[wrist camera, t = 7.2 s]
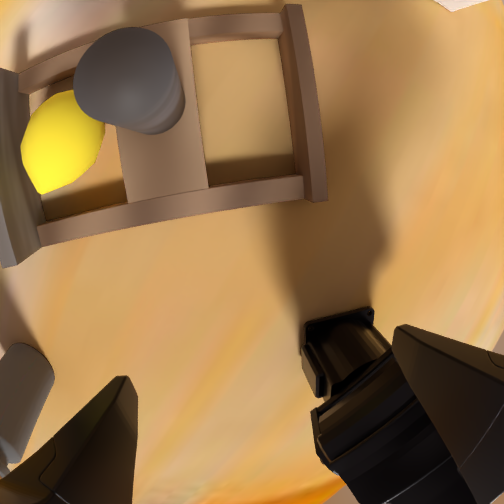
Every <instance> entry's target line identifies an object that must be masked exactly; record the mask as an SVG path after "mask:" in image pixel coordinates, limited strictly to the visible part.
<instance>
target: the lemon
mask: <svg viewBox="0 0 504 504" xmlns="http://www.w3.org/2000/svg"><path fill="white" fill-rule="evenodd" d="M104 134H105V125H104V122H101V121H98V120H95V119H93V118H91V117H89V116H88V115H87V114H85V113H84V112H83V111H82V110H81V108H80V107H79V105H78V104H77V102H76V99H75V96H74V91H73V90H69V91H65V92H60V93H56V94H55V95H53V96H52V97H50V98H49V99H48V100H46V101H45V102H44V103H42V104H41V105H40V107H39V108H38V109H37V110H36V111H35V112H34V113H33V114H32V115H31V117H30V120H29V123H28V125H27V128H26V131H25V134H24V137H23V140H22V143H21V146H20V147H21V155H22V162H23V165H24V167H25V170H26V172H27V174H28V176H29V178H30V179H31V181H32V183H33V185H34V187H35V188H36V190H37V192H38V193H40V194H45V193H48V192H50V191H53V190H55V189H58V188H60V187H63V186H65V185H68V184H70V183H72V182H74V181H75V180H76V179H77V178H78V177H80V176H81V175H82V174H83V173H84V172H85V171H86V170H87V169H88V168H89V167H90V166H92V165H93V164H94V163H95V161H96V158H97V155H98V152H99V150H100V147H101V144H102V141H103V137H104Z"/></svg>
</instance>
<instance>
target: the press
mask: <svg viewBox="0 0 504 504" xmlns="http://www.w3.org/2000/svg"><path fill="white" fill-rule="evenodd" d="M188 28H189V37H190V45H196V44H204V43H212V42H222V41H233V40H248V39H278V42H279V49H280V55H281V61H282V68H283V74H284V81H285V88H286V95H287V103H288V110H289V118H290V126H291V135H292V143H293V152H294V161H295V171H296V174H292V175H283V176H275V177H267V178H259V179H252V180H245V181H238V182H231V183H225V184H218V185H212V186H208V187H209V188H207V189H201V190H195V191H190V192H184V193H178V194H173V195H168V196H162V197H157V198H152V199H147V200H142V201H138V202H133V203H128V201H127V202H123V203H118V204H114V205H110V206H105V207H101V208H97V209H93V210H89V211H85V212H81V213H77V214H73V215H69V216H65V217H61V218H58V219H54V220H50V221H47V222H46V220H45V216H44V212H43V207H42V202H41V198H40V193H38V192H37V190H36V188H35V187H34V185H33V183H32V181H31V179H30V178H29V176H28V174H27V172H26V170H25V167H24V165H23V162H22V155H21V147H20V146H21V143H22V140H23V137H24V134H25V131H26V128H27V125H28V123H29V120H30V115H29V94H31V93H33V92H35V91H37V90H39V89H42V88H44V87H46V86H48V85H51V84H53V83H55V82H58V81H60V80H63V79H65V78H68V77H71V76H73V75H74V74H75V70H76V67H77V65H78V63H79V61H80V59H81V57H82V56H83V54H84V53H85V52H86V50H87V49H88V48H89V47H90V46H91V45H92V44H93V43H94V42H95V41H94V42H91V43H88V44H85V45H82V46H80V47H77V48H74V49H72V50H69V51H67V52H64V53H62V54H59V55H57V56H55V57H52V58H50V59H48V60H46V61H44V62H41V63H39V64H37V65H35V66H33V67H31V68H29V69H27V70H25V71H23V72H21V73H19V74H18V73H15V72H12V71H9V70H6V69H2V68H0V262H1V265H2V268H7V267H12V266H16V265H18V264H20V263H21V262H22V261H24V260H25V259H26V258H28V257H29V256H30V255H32V254H33V253H34V252H36V251H37V250H39V249H40V248H41V247H45V246H49V245H53V244H57V243H61V242H66V241H70V240H74V239H79V238H83V237H88V236H92V235H97V234H102V233H106V232H111V231H116V230H121V229H126V228H130V227H135V226H141V225H146V224H151V223H156V222H161V221H167V220H172V219H178V218H183V217H189V216H195V215H200V214H206V213H212V212H218V211H224V210H231V209H237V208H243V207H250V206H256V205H263V204H270V203H277V202H284V201H292V200H299V199H306V200H308V201H310V202H313V203H314V202H322V201H328V192H327V179H326V167H325V156H324V145H323V136H322V127H321V118H320V110H319V103H318V95H317V88H316V81H315V75H314V68H313V62H312V56H311V51H310V45H309V40H308V34H307V29H306V24H305V19H304V14H303V10H302V5H298V4H286V5H285V6H284V8H283V9H282V11H281V12H280V13H246V14H228V15H217V16H207V17H198V18H191V19H188Z"/></svg>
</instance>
